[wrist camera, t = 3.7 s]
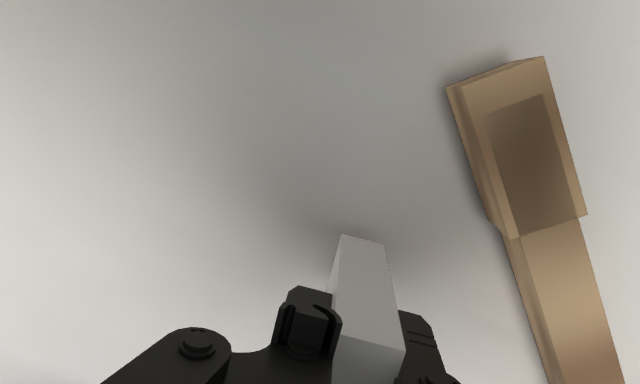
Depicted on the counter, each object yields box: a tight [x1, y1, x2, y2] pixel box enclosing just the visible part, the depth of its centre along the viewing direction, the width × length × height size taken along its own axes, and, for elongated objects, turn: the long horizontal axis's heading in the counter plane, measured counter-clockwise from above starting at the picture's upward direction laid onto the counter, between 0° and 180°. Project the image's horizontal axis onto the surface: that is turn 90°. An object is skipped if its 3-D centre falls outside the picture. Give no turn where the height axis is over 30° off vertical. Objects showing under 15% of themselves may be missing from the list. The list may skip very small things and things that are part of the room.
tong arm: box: [445, 56, 625, 384], centre depth 16 cm, size 21×2×2 cm, turn 21°
